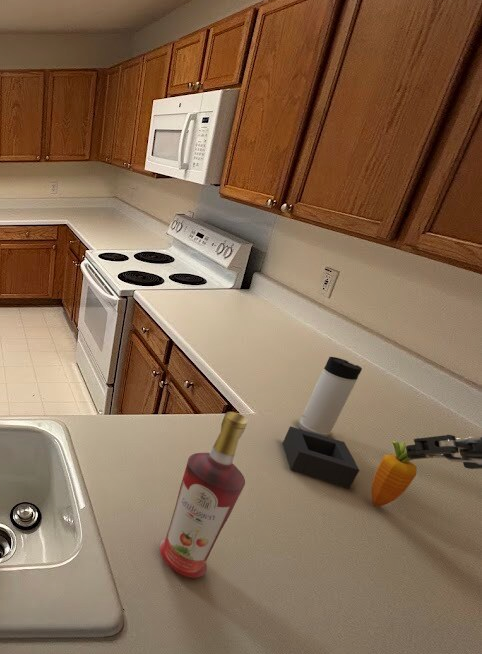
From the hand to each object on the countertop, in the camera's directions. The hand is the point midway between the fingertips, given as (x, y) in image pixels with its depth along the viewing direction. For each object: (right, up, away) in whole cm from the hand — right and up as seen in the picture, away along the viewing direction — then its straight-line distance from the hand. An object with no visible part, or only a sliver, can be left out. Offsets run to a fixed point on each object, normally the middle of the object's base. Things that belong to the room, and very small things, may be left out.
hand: (436, 457), depth 71 cm
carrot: (-1, -13, +10) cm, 17 cm away
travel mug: (+5, -5, +32) cm, 33 cm away
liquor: (-47, -15, -5) cm, 50 cm away
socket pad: (-5, -9, +20) cm, 22 cm away
